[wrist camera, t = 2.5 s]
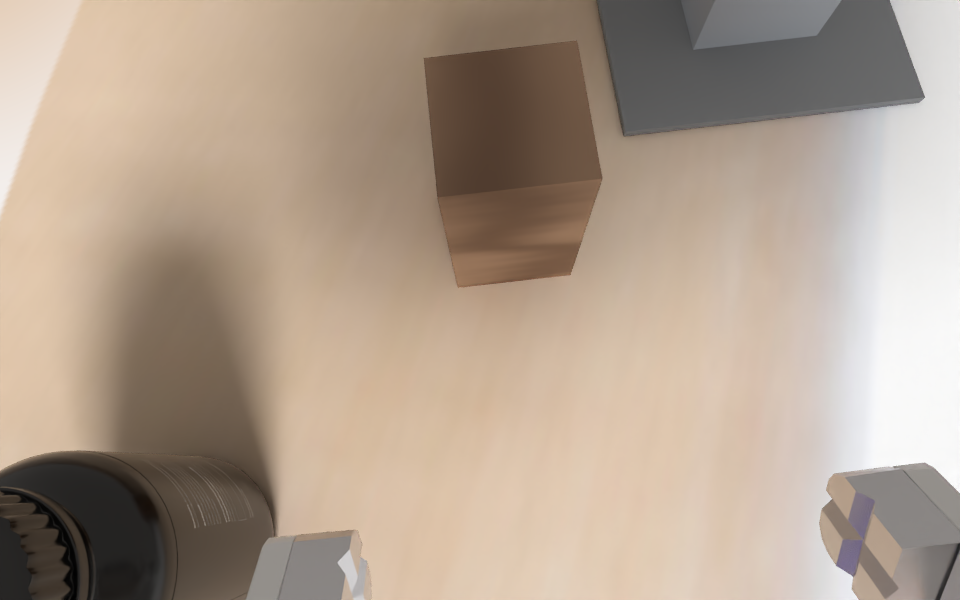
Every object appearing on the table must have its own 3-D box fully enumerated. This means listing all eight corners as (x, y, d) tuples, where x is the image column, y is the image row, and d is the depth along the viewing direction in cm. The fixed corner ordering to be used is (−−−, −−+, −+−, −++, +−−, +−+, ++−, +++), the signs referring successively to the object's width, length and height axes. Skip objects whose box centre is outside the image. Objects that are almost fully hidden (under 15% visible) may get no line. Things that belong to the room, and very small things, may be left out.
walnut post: (554, 173, 29) (577, 40, 20) (570, 274, 27) (602, 178, 19) (447, 186, 29) (423, 58, 20) (458, 287, 27) (437, 197, 19)
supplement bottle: (103, 479, 25) (-228, 478, 14) (267, 439, 26) (75, 405, 14) (114, 662, 23) (-261, 838, 12) (290, 618, 24) (91, 747, 12)
